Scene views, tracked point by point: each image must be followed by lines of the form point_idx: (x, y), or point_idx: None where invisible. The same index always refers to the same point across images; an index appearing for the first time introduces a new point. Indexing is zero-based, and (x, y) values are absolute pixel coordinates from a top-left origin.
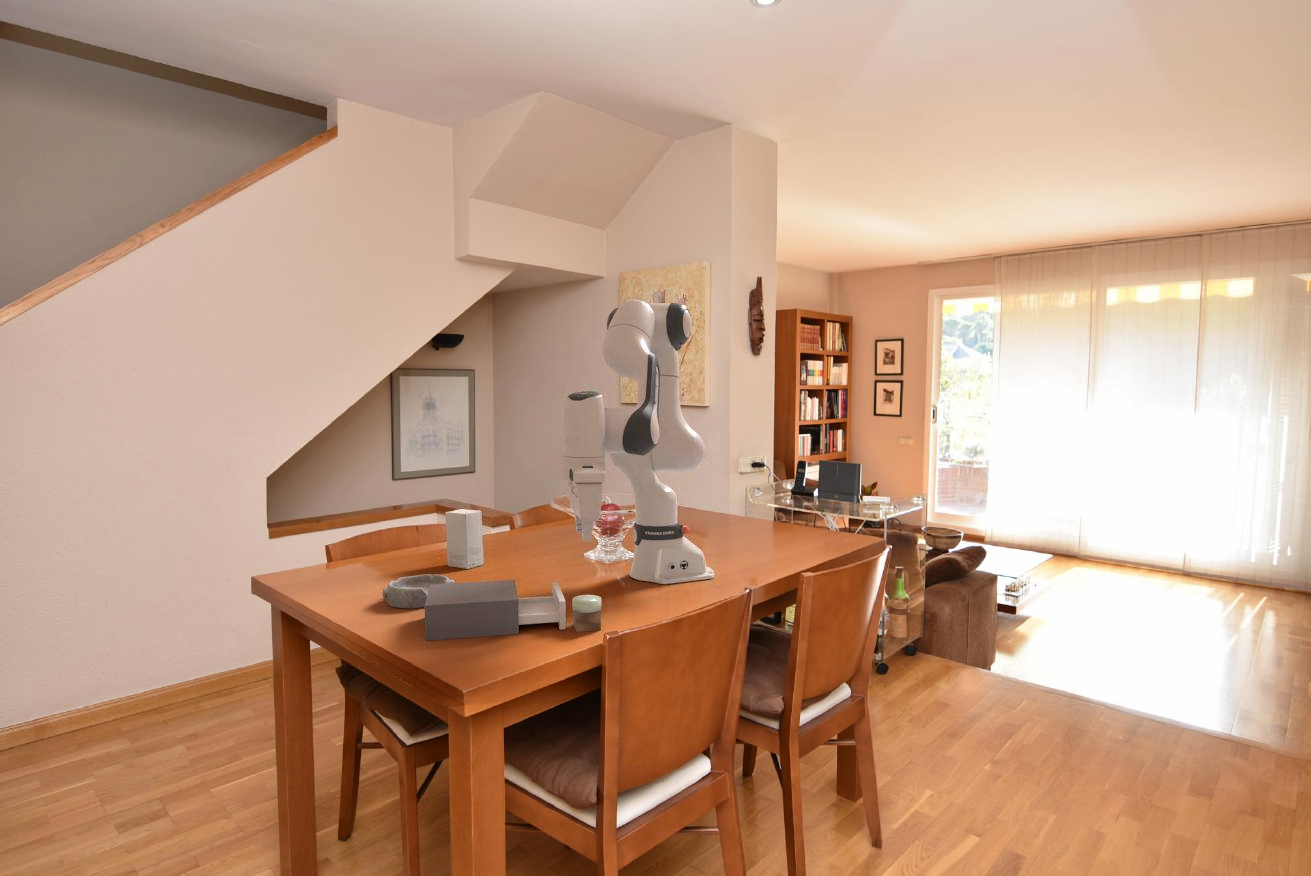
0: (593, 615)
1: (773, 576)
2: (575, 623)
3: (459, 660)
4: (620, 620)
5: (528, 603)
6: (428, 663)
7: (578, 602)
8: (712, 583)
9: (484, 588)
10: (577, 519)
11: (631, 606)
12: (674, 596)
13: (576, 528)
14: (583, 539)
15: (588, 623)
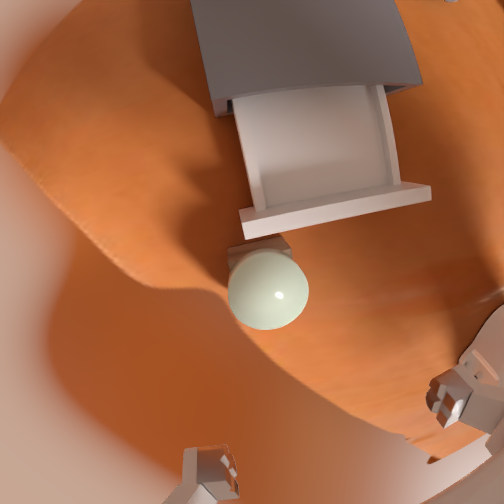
0: None
1: (430, 446)
2: (245, 248)
3: (76, 57)
4: (301, 326)
5: (375, 124)
6: (73, 21)
7: (233, 277)
8: None
9: (335, 5)
10: (493, 405)
11: (380, 334)
12: (407, 383)
13: (461, 378)
14: (185, 455)
15: None
